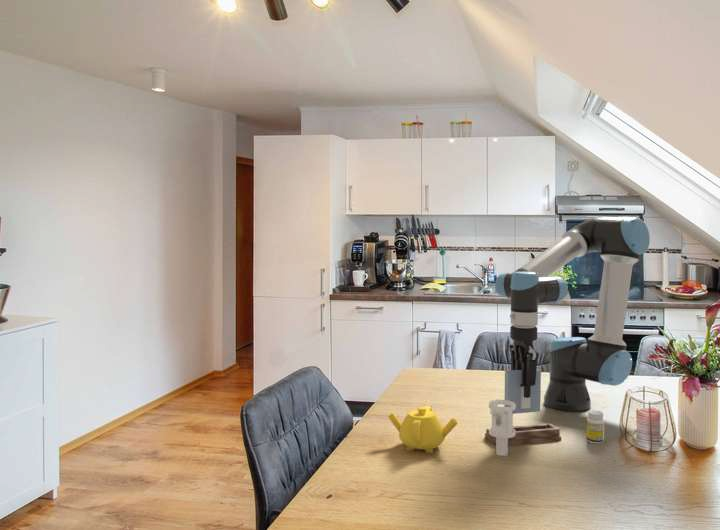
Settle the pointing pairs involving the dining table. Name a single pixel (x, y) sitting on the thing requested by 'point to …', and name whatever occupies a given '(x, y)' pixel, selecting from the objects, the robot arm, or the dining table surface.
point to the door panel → (514, 391)
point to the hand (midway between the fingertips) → (522, 406)
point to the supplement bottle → (595, 427)
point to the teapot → (422, 429)
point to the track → (531, 434)
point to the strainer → (502, 424)
